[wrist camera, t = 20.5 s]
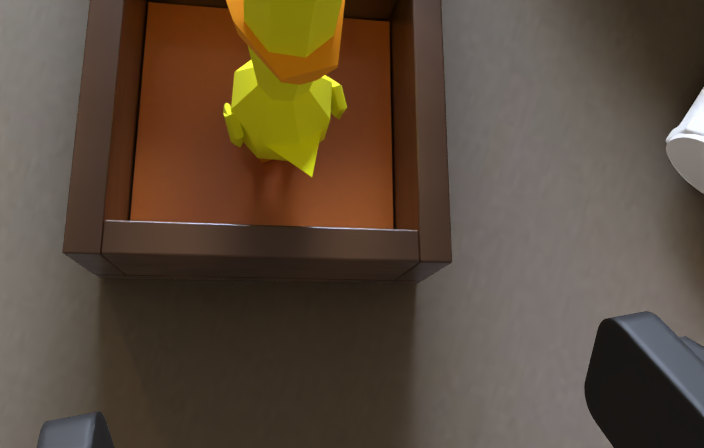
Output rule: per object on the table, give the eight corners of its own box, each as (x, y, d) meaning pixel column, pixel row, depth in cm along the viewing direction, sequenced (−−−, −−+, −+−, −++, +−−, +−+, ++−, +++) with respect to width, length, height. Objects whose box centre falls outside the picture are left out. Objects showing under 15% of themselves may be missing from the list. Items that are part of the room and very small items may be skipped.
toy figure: (193, 56, 23) (132, -279, 11) (288, 33, 23) (323, -303, 12) (252, 231, 22) (252, 57, 10) (350, 200, 22) (454, 6, 11)
